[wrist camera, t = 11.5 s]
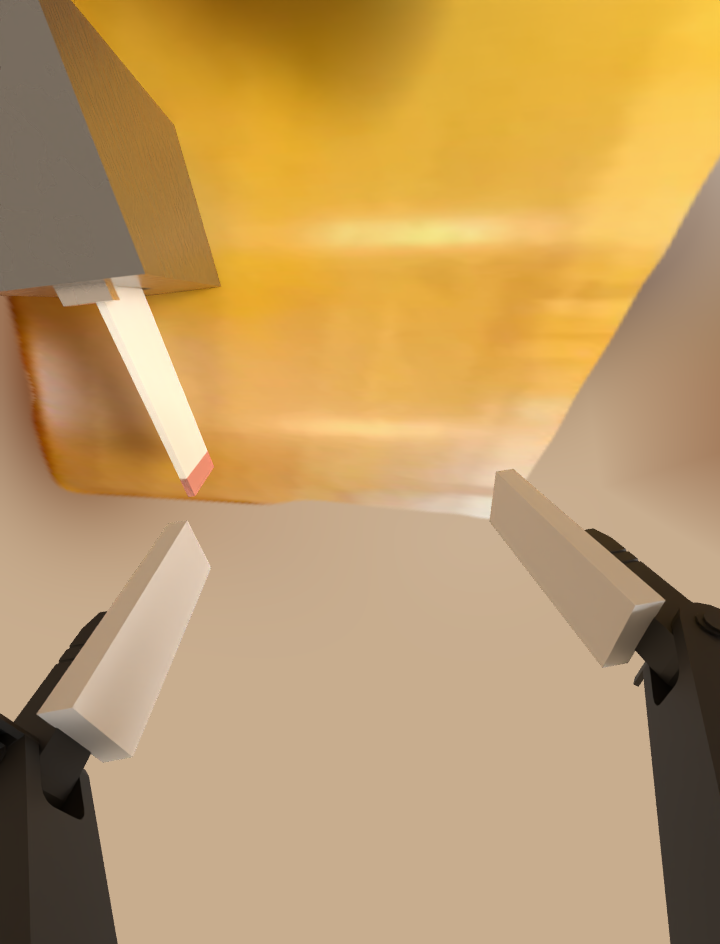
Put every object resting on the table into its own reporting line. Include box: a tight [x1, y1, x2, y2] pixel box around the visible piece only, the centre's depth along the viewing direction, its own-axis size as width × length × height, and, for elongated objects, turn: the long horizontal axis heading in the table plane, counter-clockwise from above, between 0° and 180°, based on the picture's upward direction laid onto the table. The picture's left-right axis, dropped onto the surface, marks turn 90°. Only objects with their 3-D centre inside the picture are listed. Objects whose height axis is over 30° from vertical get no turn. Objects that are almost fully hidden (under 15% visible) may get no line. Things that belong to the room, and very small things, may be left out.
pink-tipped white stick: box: [96, 285, 214, 497], centre depth 27 cm, size 18×1×6 cm, turn 7°
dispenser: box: [0, 0, 221, 306], centre depth 22 cm, size 13×10×16 cm
